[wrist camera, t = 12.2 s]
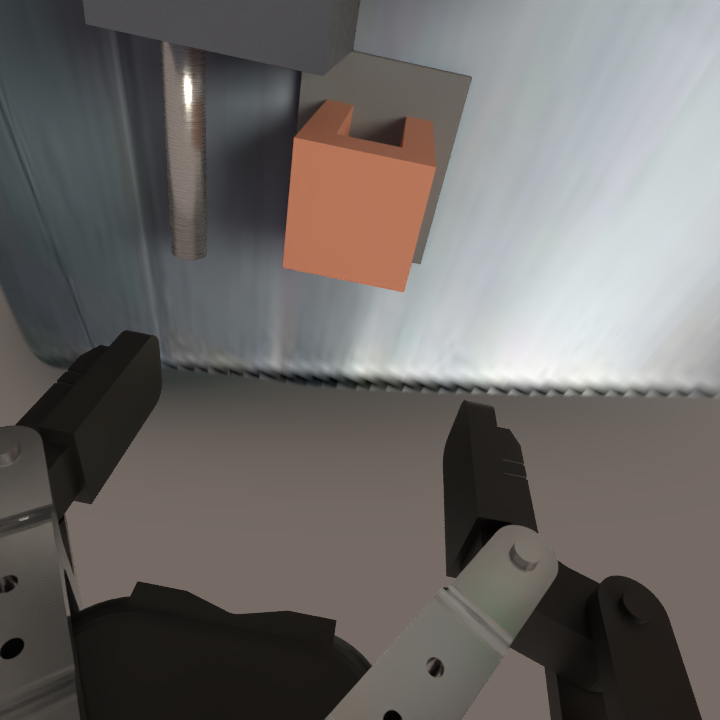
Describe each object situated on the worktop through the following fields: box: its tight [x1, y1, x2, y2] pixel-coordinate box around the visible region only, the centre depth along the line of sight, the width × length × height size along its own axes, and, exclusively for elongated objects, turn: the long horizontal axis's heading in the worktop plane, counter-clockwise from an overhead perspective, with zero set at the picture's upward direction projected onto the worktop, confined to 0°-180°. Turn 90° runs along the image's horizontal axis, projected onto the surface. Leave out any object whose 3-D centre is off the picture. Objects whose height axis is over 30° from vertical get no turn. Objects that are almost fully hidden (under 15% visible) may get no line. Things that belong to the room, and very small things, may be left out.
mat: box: [296, 51, 472, 264], centre depth 30 cm, size 9×11×1 cm
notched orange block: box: [283, 99, 436, 292], centre depth 26 cm, size 6×6×9 cm
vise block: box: [83, 0, 360, 260], centre depth 23 cm, size 18×9×13 cm, turn 170°
